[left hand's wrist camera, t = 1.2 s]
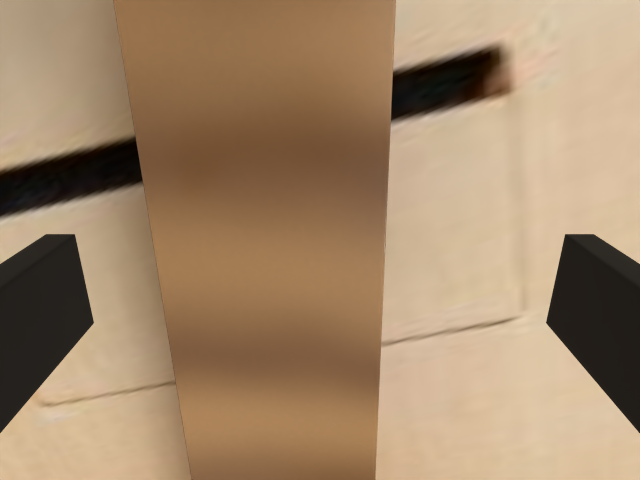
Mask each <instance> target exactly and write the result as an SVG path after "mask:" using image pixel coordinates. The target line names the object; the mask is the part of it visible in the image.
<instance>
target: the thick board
mask: <svg viewBox="0 0 640 480" xmlns="http://www.w3.org/2000/svg"><path fill="white" fill-rule="evenodd" d="M113 1H114V7H115V13H116V19H117V25H118V32H119V38H120V44H121V50H122V56H123V62H124V68H125V74H126V80H127V87H128V93H129V99H130V105H131V111H132V117H133V123H134V129H135V135H136V142H137V148H138V154H139V160H140V166H141V172H142V178H143V184H144V191H145V197H146V203H147V209H148V215H149V221H150V227H151V233H152V239H153V246H154V252H155V258H156V264H157V270H158V276H159V282H160V288H161V294H162V301H163V307H164V313H165V319H166V325H167V331H168V337H169V343H170V349H171V356H172V362H173V368H174V374H175V380H176V386H177V392H178V398H179V404H180V411H181V417H182V423H183V429H184V435H185V441H186V447H187V453H188V460H189V466H190V472H191V478H192V480H375V471H376V448H377V425H378V402H379V379H380V356H381V332H382V309H383V286H384V263H385V240H386V216H387V193H388V170H389V147H390V124H391V101H392V77H393V54H394V31H395V8H396V0H113Z"/></svg>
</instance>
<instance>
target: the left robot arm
mask: <svg viewBox="0 0 640 480" xmlns="http://www.w3.org/2000/svg"><path fill="white" fill-rule="evenodd" d="M93 323H94V322H93V317H92V312H91V308H90V303H89V298H88V294H87V289H86V284H85V280H84V275H83V270H82V266H81V261H80V256H79V252H78V247H77V242H76V238H75V234H46V235H44V236H43V237H41V238H40V239H38V240H37V241H35V242H34V243H32V244H31V245H29V246H27V247H26V248H24V249H23V250H21V251H20V252H18V253H17V254H15V255H14V256H12V257H10V258H9V259H7V260H6V261H4V262H3V263H1V264H0V433H1V432H2V430H3V429H4V428H5V427H6V426H7V425H8V423H9V422H10V421H11V420H12V419H13V418H14V416H15V415H16V414H17V413H18V412H19V410H20V409H21V408H22V407H23V406H24V405H25V403H26V402H27V401H28V400H29V399H30V398H31V396H32V395H33V394H34V393H35V392H36V390H37V389H38V388H39V387H40V386H41V385H42V383H43V382H44V381H45V380H46V379H47V377H48V376H49V375H50V374H51V373H52V372H53V370H54V369H55V368H56V367H57V366H58V365H59V363H60V362H61V361H62V360H63V359H64V357H65V356H66V355H67V354H68V353H69V352H70V350H71V349H72V348H73V347H74V346H75V345H76V343H77V342H78V341H79V340H80V339H81V337H82V336H83V335H84V334H85V333H86V332H87V330H88V329H89V328H90V327H91V326H92V325H93ZM546 323H547V325H548V326H549V327H550V328H551V329H552V330H553V332H554V333H555V334H556V335H557V336H558V337H559V339H560V340H561V341H562V342H563V343H564V345H565V346H566V347H567V348H568V349H569V350H570V352H571V353H572V354H573V355H574V356H575V357H576V359H577V360H578V361H579V362H580V363H581V365H582V366H583V367H584V368H585V369H586V370H587V372H588V373H589V374H590V375H591V376H592V378H593V379H594V380H595V381H596V382H597V383H598V385H599V386H600V387H601V388H602V389H603V390H604V392H605V393H606V394H607V395H608V396H609V398H610V399H611V400H612V401H613V402H614V403H615V405H616V406H617V407H618V408H619V409H620V410H621V412H622V413H623V414H624V415H625V416H626V418H627V419H628V420H629V421H630V422H631V423H632V425H633V426H634V427H635V428H636V429H637V430H638V432H639V433H640V264H639V263H637V262H636V261H634V260H633V259H631V258H630V257H628V256H626V255H625V254H623V253H622V252H620V251H619V250H617V249H616V248H614V247H613V246H611V245H609V244H608V243H606V242H605V241H603V240H602V239H600V238H599V237H597V236H596V235H594V234H565V238H564V242H563V247H562V252H561V256H560V261H559V266H558V270H557V275H556V280H555V284H554V289H553V294H552V298H551V303H550V308H549V312H548V317H547V322H546Z"/></svg>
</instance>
